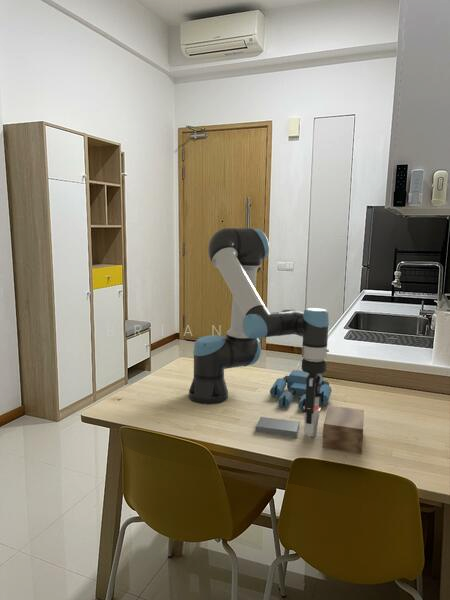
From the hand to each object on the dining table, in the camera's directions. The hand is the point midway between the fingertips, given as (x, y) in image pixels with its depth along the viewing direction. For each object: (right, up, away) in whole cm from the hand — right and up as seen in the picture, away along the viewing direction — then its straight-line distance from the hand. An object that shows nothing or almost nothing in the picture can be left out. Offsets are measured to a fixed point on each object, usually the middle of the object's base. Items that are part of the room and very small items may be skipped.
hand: (311, 424), depth 143 cm
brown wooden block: (+9, -4, -2) cm, 10 cm away
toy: (+3, +1, +35) cm, 35 cm away
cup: (0, -4, +1) cm, 4 cm away
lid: (-10, -3, +4) cm, 11 cm away
